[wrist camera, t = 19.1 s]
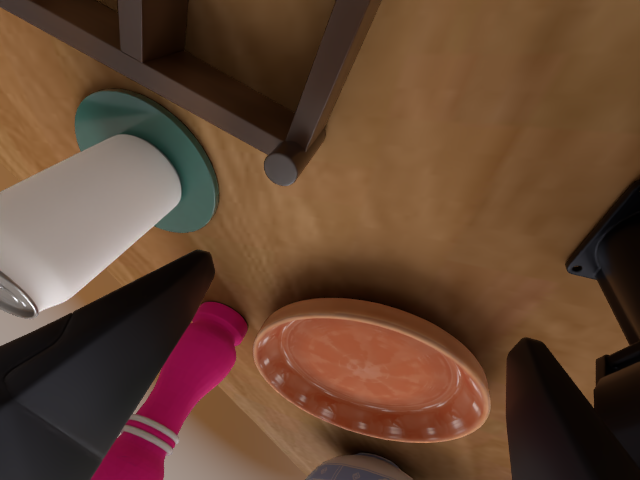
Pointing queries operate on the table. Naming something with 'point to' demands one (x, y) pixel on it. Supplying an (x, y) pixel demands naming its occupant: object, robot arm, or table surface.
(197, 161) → the coaster
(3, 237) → the can
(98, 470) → the pepper mill
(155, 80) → the rack
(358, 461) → the ramen bowl
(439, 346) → the saucer
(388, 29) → the table surface
